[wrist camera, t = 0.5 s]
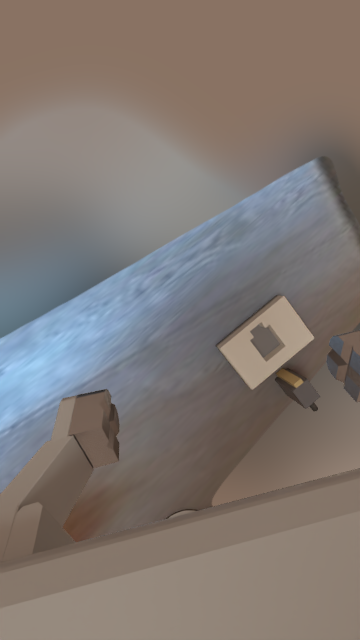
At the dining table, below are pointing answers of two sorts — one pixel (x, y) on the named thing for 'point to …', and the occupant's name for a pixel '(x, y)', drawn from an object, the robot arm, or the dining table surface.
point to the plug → (297, 388)
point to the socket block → (265, 341)
